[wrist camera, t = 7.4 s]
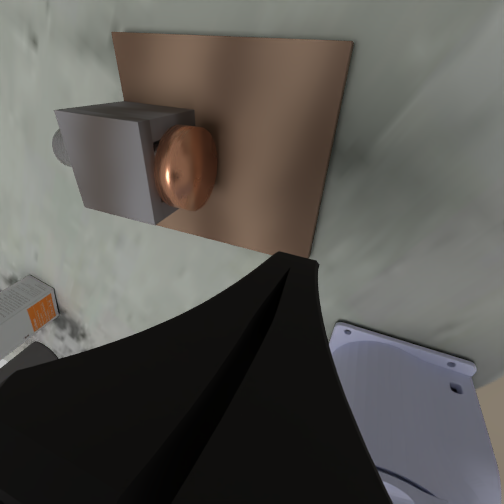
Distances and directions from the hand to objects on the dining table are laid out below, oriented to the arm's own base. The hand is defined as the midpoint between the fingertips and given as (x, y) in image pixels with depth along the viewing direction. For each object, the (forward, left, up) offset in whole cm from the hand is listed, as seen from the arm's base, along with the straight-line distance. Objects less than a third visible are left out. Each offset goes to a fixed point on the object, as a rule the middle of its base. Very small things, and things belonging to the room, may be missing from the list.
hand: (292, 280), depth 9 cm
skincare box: (+34, +22, -10) cm, 42 cm away
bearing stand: (+7, -1, -9) cm, 12 cm away
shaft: (+11, -1, -8) cm, 14 cm away
